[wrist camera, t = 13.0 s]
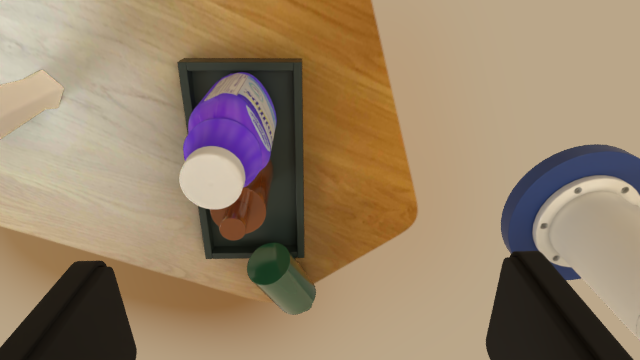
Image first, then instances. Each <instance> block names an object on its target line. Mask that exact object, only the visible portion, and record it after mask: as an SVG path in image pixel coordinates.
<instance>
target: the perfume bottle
mask: <svg viewBox="0 0 640 360" xmlns="http://www.w3.org/2000/svg"><path fill="white" fill-rule="evenodd" d="M63 91H64V88H63V87H62V86H61V85H60V84H59V83H58V82H57V81H55V80H54V79H53V78H52V77H51V76H49V75H48V74H47V73H46V72H45V71H43V70H40V71H38V72H36V73H34V74H32V75H30V76H28V77H26V78H24V79H23V80H19V81H15V82H10V83H6V84H2V85H0V139H2V138H3V137H5V136H6V135H8V134H9V133H11V132H12V131H14V130H15V129H17V128H18V127H20V126H21V125H23V124H24V123H26V122H27V121H29V120H30V119H32V118H33V117H35V116H36V115H38V114H39V113H41V112H42V111H44V110H45V109H56V108H58V107H59V104H60V100H61V97H62V94H63Z"/></svg>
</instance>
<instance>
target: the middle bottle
mask: <svg viewBox="0 0 640 360" xmlns="http://www.w3.org/2000/svg"><path fill="white" fill-rule="evenodd" d="M272 177H273V165H272V162H271V160H270V159H269V162H268V163H267V165H266V166H265V167H264V168H263V169H262V170H261V171H260V172H259V173H258V175H257V176H256V177H255V179H254V180H253V181H252V182H251V183H250V184H249V185H247V186H246V187H244V188H243V189H242V192H241V195H240V196H239V198H238V199H237V200H236V201H235V202H234V203H233V204H231V205H230V206H228V207H226V208H223V209H210V213H211V216H212V218H213V220H214V222H215V223H216V224H217V225H218V226H219V230H220V233H221V234H222V236H223V237H225V238H226V239H229V240H239V239H241V238H242V237H243V236H244V235H245V234H247V233H251V232H253V231H255V230H256V229H258V228H259V227H260V226H261V225H262V223H263V222H264V220H265V217H266V212H267V206H268V200H269V194H270V189H271V183H272Z"/></svg>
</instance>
